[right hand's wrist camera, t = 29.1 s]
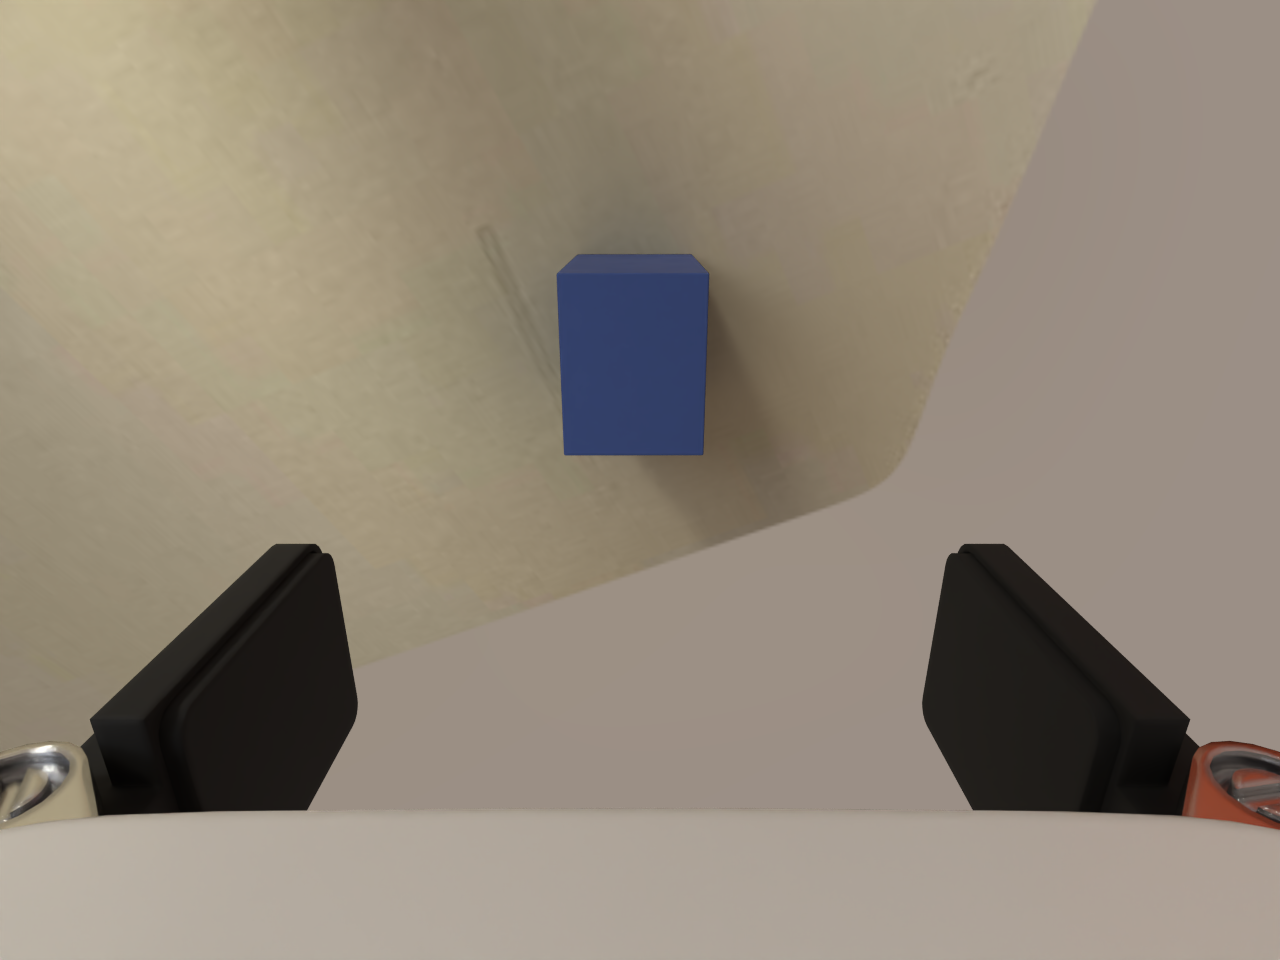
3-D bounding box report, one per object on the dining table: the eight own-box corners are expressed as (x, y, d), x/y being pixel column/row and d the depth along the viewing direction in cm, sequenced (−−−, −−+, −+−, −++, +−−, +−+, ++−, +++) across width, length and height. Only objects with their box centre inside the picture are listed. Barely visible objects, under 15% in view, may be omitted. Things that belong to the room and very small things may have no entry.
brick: (692, 254, 33) (709, 272, 25) (688, 395, 35) (703, 455, 27) (577, 254, 33) (556, 273, 25) (581, 395, 35) (563, 455, 27)
